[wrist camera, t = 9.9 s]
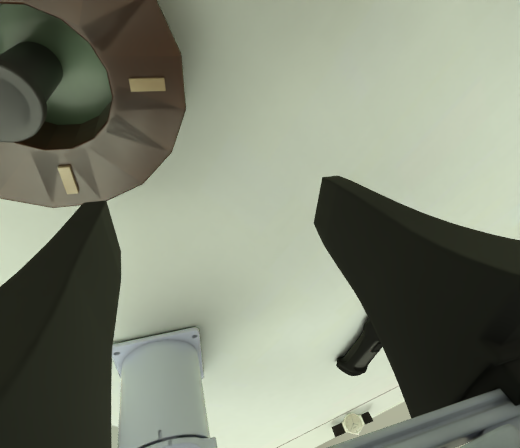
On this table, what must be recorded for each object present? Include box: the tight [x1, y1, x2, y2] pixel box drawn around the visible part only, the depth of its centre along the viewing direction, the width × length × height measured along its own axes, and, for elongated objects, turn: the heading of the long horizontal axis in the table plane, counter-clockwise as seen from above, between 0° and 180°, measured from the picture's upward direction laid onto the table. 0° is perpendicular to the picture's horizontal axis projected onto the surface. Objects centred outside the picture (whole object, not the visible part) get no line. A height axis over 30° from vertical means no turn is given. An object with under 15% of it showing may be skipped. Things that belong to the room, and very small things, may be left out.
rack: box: [0, 4, 112, 142], centre depth 13 cm, size 8×8×7 cm
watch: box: [332, 412, 373, 437], centre depth 59 cm, size 8×5×4 cm, turn 102°
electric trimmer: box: [336, 319, 382, 376], centre depth 40 cm, size 4×16×3 cm, turn 163°
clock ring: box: [0, 0, 186, 208], centre depth 13 cm, size 11×11×3 cm
